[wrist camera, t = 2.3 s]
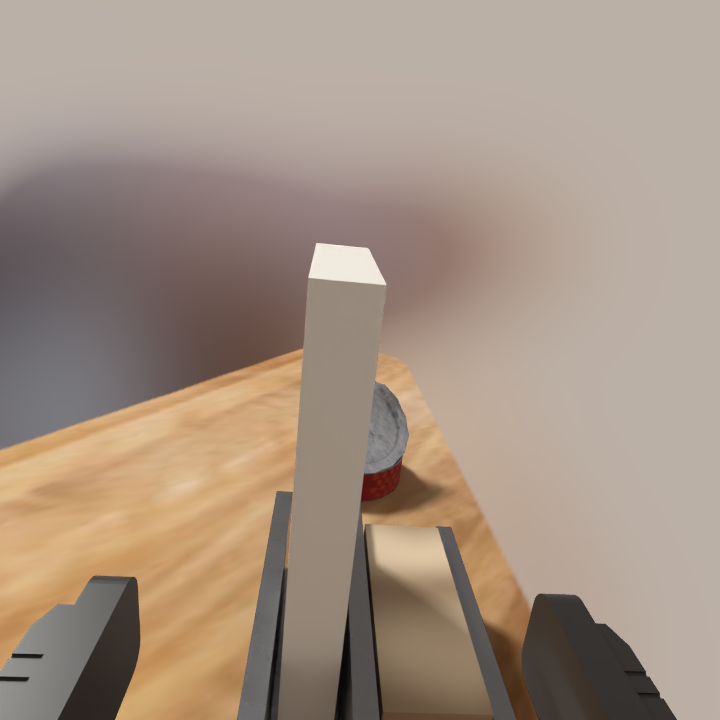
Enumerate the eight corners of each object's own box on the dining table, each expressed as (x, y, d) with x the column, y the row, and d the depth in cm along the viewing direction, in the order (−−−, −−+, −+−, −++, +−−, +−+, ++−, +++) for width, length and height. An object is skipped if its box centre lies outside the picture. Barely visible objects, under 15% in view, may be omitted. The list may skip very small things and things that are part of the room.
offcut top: (483, 756, 22) (494, 714, 21) (375, 754, 22) (383, 712, 21) (431, 560, 33) (437, 527, 33) (361, 556, 33) (365, 523, 32)
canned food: (390, 505, 54) (448, 442, 49) (332, 544, 45) (395, 473, 41) (323, 425, 58) (371, 360, 53) (257, 448, 49) (308, 373, 45)
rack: (506, 858, 22) (545, 735, 20) (230, 858, 21) (235, 728, 19) (438, 592, 36) (456, 501, 34) (271, 585, 35) (276, 491, 33)
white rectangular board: (329, 757, 24) (386, 285, 17) (274, 756, 24) (308, 278, 16) (330, 604, 32) (368, 248, 25) (289, 603, 32) (316, 243, 25)
